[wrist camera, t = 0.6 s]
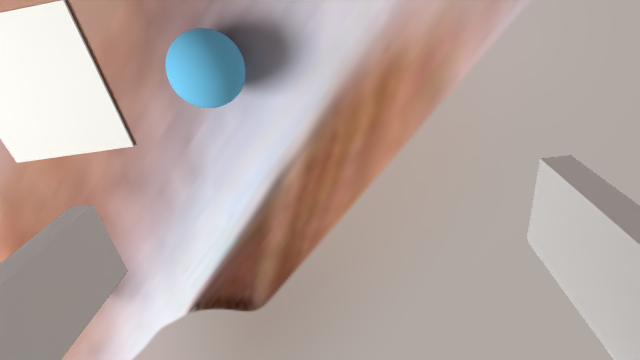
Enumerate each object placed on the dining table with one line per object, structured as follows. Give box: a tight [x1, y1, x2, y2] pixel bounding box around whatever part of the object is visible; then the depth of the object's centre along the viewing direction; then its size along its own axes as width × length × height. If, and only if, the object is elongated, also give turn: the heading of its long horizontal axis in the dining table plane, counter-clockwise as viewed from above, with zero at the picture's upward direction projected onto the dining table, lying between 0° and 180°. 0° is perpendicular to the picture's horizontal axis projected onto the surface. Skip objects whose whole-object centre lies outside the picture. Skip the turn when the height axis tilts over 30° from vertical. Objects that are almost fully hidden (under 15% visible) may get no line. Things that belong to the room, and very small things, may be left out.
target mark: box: [0, 0, 134, 163], centre depth 30 cm, size 12×12×1 cm
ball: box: [166, 28, 246, 108], centre depth 26 cm, size 6×6×6 cm
